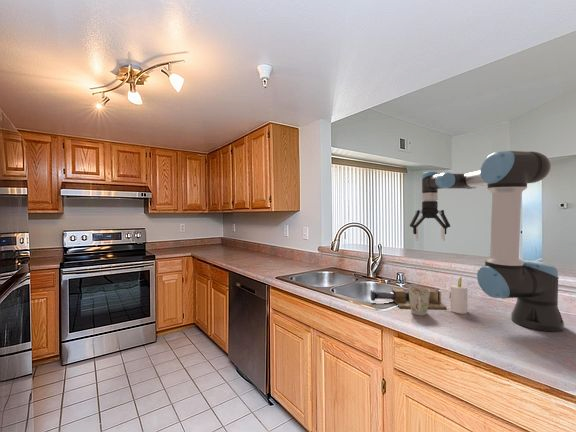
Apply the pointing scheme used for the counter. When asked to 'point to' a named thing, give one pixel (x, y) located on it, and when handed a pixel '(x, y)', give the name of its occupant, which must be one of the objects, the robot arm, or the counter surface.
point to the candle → (458, 298)
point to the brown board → (400, 298)
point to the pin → (384, 295)
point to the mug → (419, 300)
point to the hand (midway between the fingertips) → (429, 240)
